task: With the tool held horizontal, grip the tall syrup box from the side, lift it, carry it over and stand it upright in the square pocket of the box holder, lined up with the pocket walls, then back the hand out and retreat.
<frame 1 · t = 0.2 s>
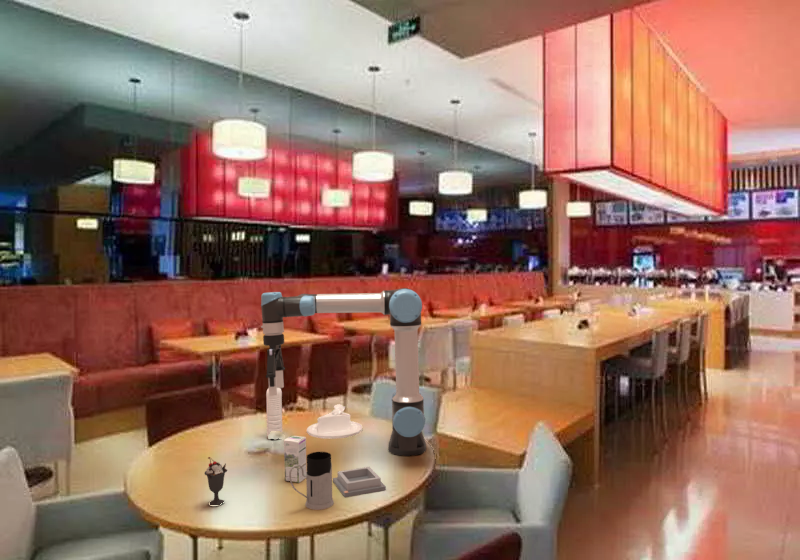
hand: (276, 391, 206), 28 cm above the table, tool pointing down, fingers open, 13 cm apart
box holder: (358, 485, 187), on the table
water bottle: (275, 437, 240), on the table
dish: (334, 431, 250), on the table
sundae: (216, 504, 174), on the table
glass holder: (311, 506, 172), on the table
syrup box: (295, 480, 193), on the table
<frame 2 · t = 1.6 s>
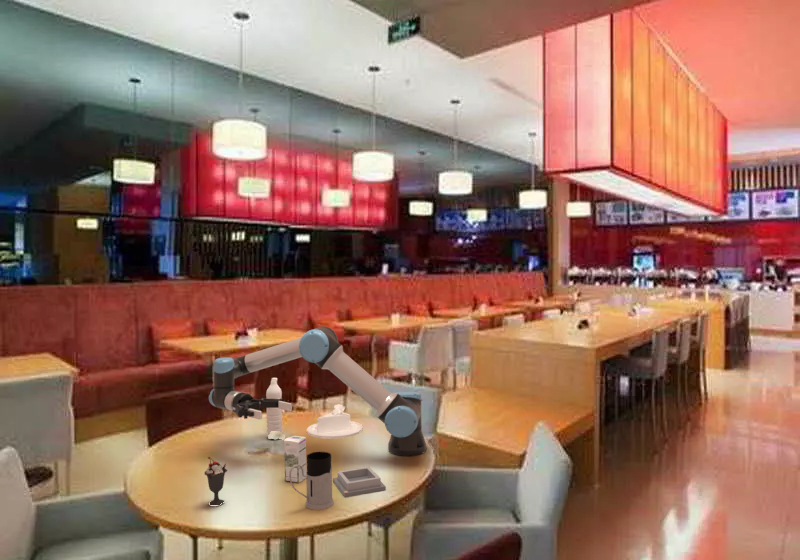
hand: (276, 411, 198), 22 cm above the table, tool horizontal, fingers open, 13 cm apart
nothing on the table moved.
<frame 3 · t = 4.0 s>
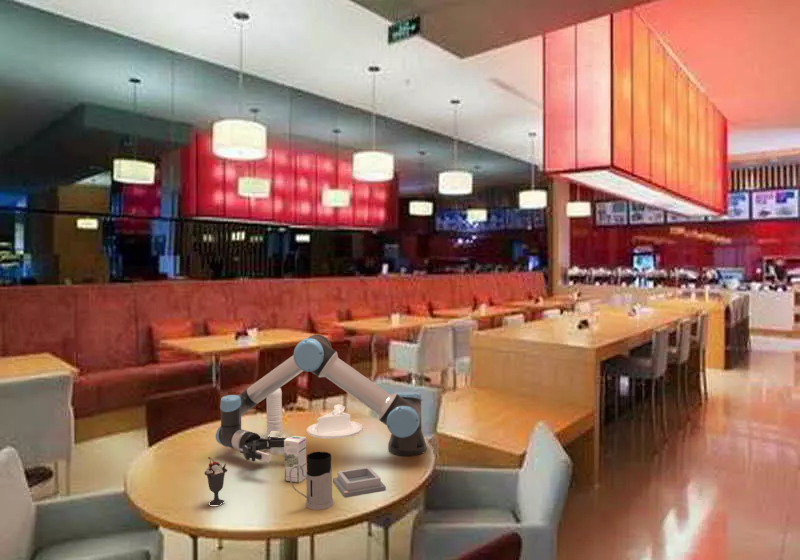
hand: (284, 453, 196), 8 cm above the table, tool horizontal, fingers open, 13 cm apart
nothing on the table moved.
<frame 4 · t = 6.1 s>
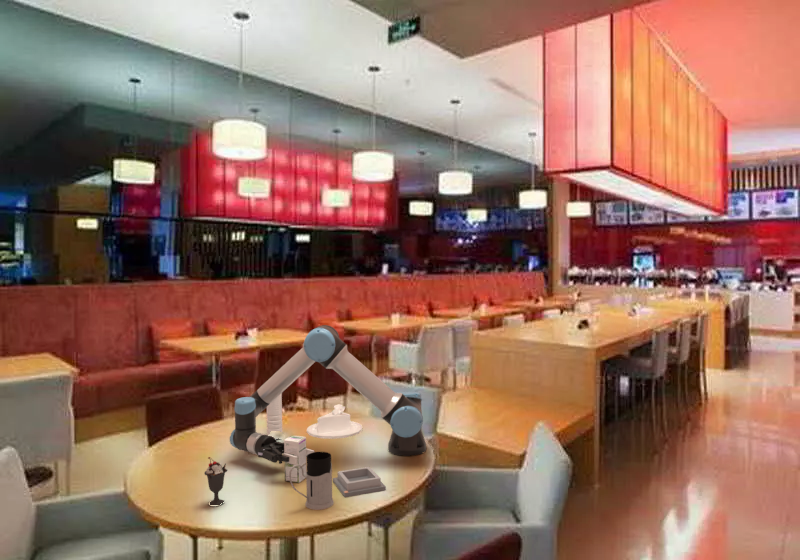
hand: (305, 457, 190), 9 cm above the table, tool horizontal, fingers closed on syrup box, 7 cm apart
syrup box: (295, 479, 193), on the table, touching gripper
everything else where it was.
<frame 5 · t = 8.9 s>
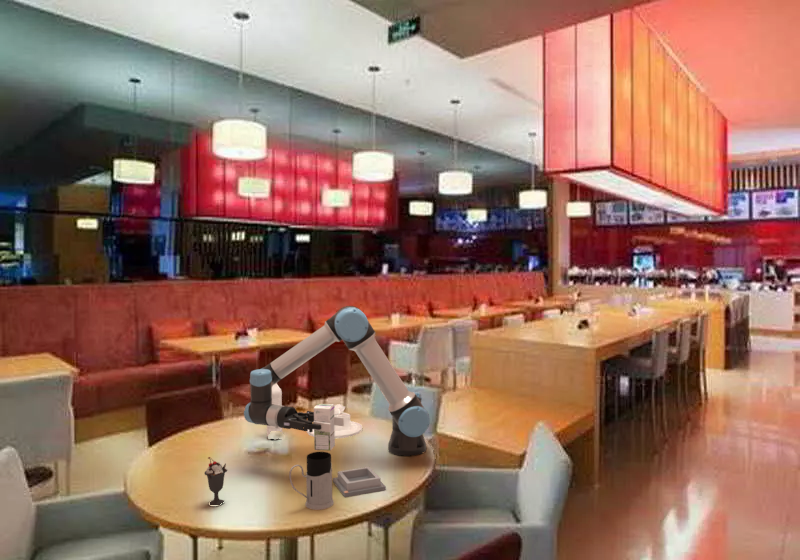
hand: (336, 424, 186), 21 cm above the table, tool horizontal, fingers closed on syrup box, 7 cm apart
syrup box: (324, 448, 189), point 12 cm above the table, touching gripper
everything else where it was.
when the fingers open (11 cm above the table, at t = 11.8 s): syrup box drops 1 cm, resting on box holder.
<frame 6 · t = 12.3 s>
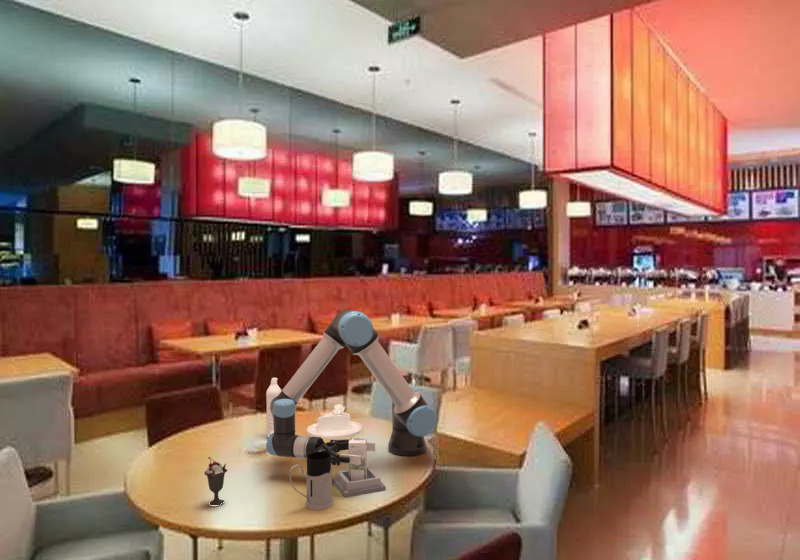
hand: (367, 453, 186), 11 cm above the table, tool horizontal, fingers open, 13 cm apart
syrup box: (358, 482, 187), point 1 cm above the table, touching box holder
everything else where it was.
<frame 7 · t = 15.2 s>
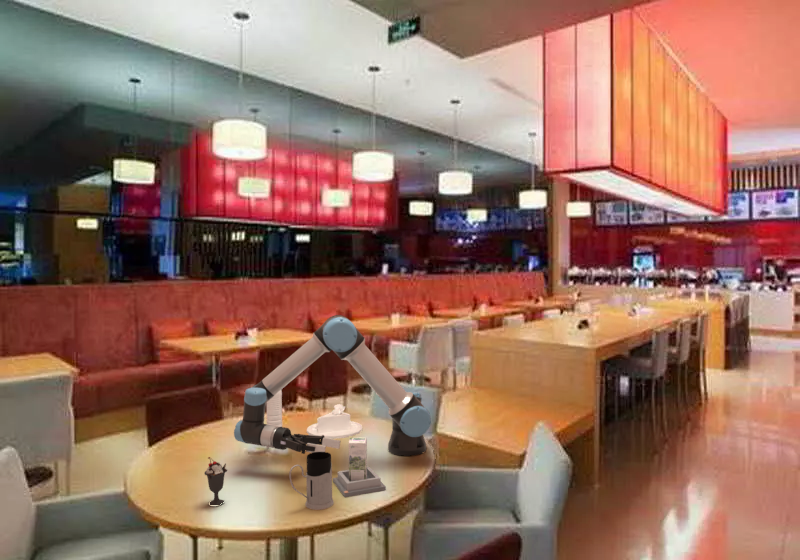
hand: (332, 447, 191), 12 cm above the table, tool horizontal, fingers open, 13 cm apart
nothing on the table moved.
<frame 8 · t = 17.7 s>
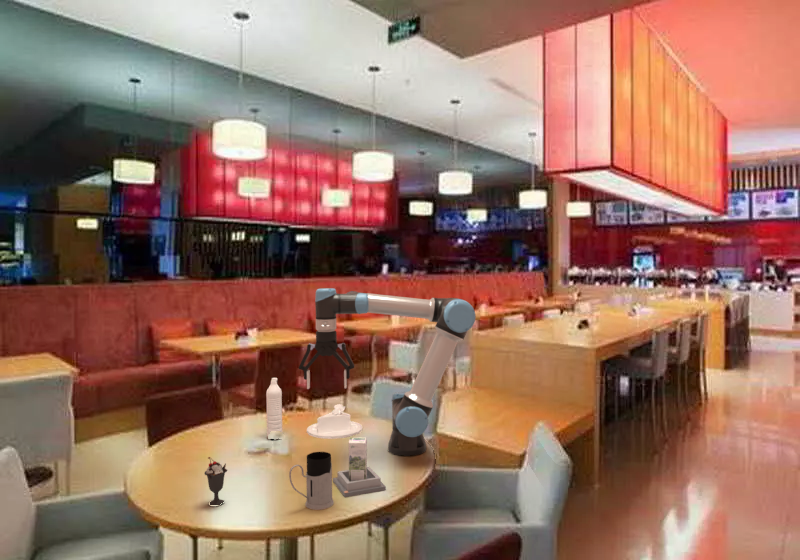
hand: (327, 388, 206), 29 cm above the table, tool pointing down, fingers open, 13 cm apart
nothing on the table moved.
at the end: syrup box 0.2 cm off-centre on the box holder, point 1.0 cm above the box holder's base; syrup box tilted 0°; the gripper is holding nothing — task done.
